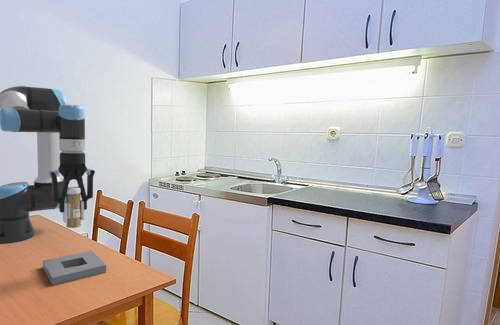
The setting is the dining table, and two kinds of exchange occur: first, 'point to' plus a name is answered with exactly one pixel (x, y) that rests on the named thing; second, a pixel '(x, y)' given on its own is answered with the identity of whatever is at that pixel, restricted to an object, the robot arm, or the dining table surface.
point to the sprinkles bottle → (73, 207)
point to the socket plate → (60, 274)
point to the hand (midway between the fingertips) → (73, 220)
